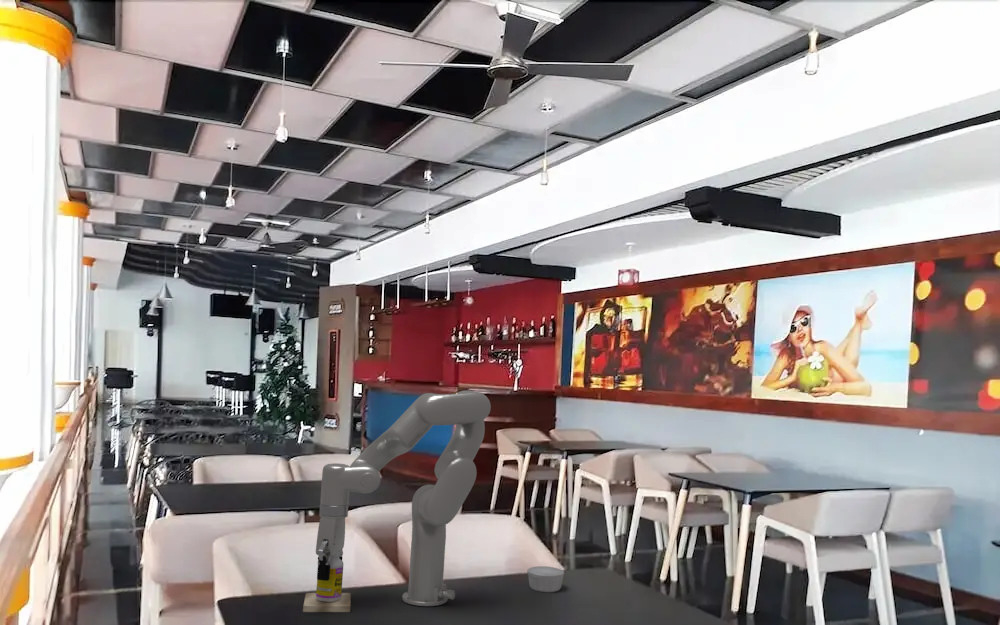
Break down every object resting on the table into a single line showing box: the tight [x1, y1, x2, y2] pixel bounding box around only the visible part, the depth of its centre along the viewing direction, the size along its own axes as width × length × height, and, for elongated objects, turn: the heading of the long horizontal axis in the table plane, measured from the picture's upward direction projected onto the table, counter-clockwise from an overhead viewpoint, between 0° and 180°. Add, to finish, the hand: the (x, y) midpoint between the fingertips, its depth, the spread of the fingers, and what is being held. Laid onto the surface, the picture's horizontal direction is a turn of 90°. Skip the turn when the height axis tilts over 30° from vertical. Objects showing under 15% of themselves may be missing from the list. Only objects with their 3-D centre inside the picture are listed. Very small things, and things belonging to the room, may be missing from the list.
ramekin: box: [526, 565, 565, 593], centre depth 241 cm, size 11×11×5 cm
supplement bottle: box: [315, 550, 344, 602], centre depth 213 cm, size 7×7×13 cm
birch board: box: [302, 592, 352, 613], centre depth 212 cm, size 12×12×2 cm
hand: (329, 575), depth 213 cm, fingers open, 9 cm apart
